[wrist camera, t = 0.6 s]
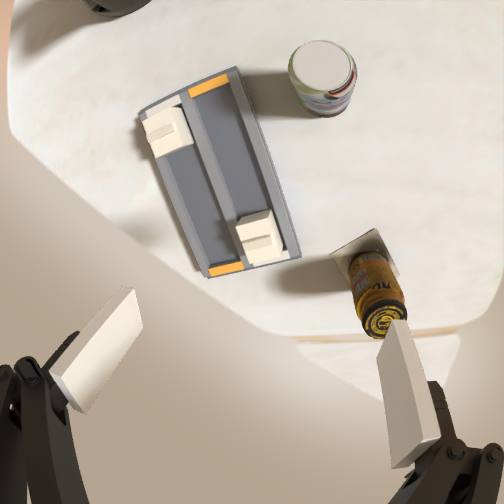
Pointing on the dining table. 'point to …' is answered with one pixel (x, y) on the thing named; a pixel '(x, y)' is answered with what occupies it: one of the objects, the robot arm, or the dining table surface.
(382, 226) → the dining table surface
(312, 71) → the beverage can
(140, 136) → the dining table surface
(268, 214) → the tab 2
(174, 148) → the tab
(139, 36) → the dining table surface
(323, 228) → the dining table surface
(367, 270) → the condiment
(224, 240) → the switch bank
